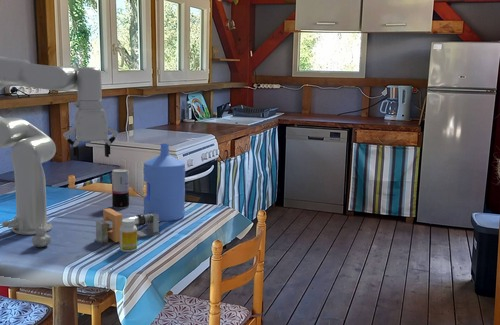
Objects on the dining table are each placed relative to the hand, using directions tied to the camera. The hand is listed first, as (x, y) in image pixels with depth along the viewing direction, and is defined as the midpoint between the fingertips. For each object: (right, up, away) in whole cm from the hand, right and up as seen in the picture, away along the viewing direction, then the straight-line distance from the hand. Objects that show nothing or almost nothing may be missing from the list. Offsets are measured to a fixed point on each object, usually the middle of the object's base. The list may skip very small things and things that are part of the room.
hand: (92, 157), depth 174 cm
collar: (+7, -27, -1) cm, 28 cm away
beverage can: (0, -20, +39) cm, 44 cm away
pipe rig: (+11, -27, +2) cm, 29 cm away
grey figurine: (-13, -28, -10) cm, 33 cm away
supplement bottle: (+14, -29, -9) cm, 34 cm away
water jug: (+19, -23, +28) cm, 41 cm away
